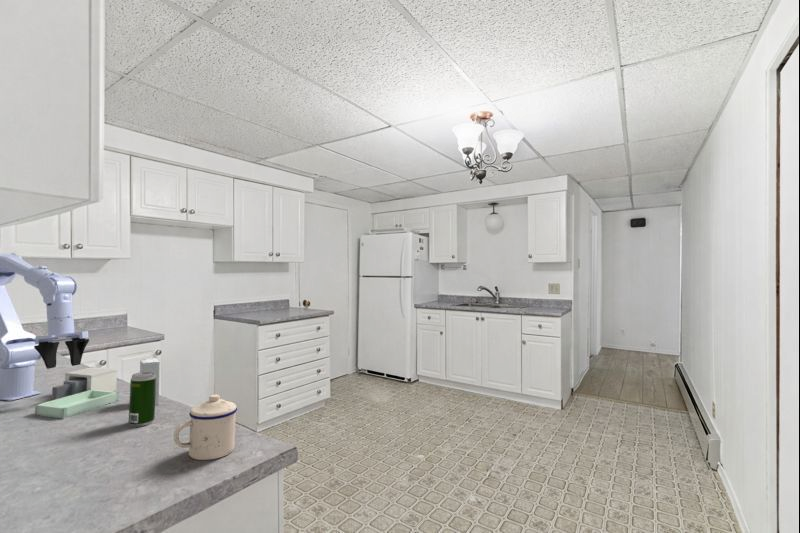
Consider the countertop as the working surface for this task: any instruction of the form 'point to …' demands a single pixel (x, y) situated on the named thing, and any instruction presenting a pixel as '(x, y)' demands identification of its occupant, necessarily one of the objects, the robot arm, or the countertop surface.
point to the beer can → (142, 399)
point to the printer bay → (96, 378)
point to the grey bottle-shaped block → (70, 388)
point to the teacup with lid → (210, 429)
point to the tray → (76, 403)
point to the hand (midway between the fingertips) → (63, 366)
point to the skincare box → (152, 366)
